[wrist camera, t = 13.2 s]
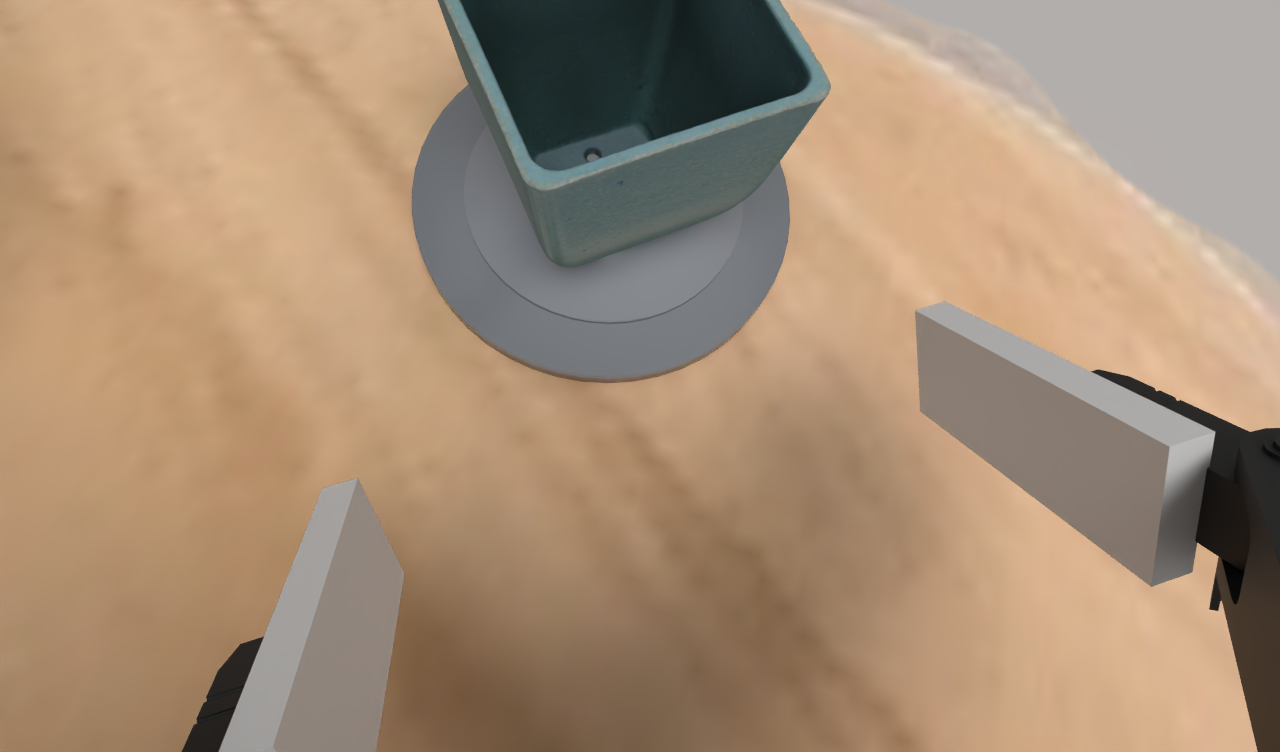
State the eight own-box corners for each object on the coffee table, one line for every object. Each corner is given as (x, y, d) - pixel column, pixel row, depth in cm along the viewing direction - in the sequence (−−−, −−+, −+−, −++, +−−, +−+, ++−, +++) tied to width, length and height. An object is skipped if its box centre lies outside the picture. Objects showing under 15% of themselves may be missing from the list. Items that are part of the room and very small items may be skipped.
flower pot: (459, 135, 27) (409, -74, 19) (660, 74, 29) (699, -141, 20) (543, 328, 25) (529, 193, 17) (753, 249, 27) (839, 91, 18)
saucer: (339, 265, 26) (328, 250, 25) (539, 7, 31) (538, -18, 30) (683, 453, 26) (689, 446, 24) (836, 158, 30) (848, 139, 29)
